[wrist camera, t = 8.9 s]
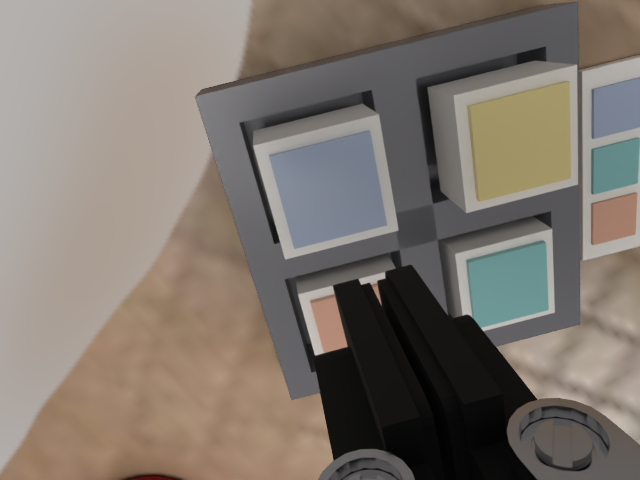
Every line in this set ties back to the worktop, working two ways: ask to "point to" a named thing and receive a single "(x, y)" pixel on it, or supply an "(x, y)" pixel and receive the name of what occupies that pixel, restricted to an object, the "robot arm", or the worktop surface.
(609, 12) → the worktop surface
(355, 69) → the keypad
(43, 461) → the worktop surface
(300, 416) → the worktop surface
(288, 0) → the worktop surface
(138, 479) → the canned food
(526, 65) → the key mustard
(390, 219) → the key slate
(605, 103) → the strip
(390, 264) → the key terracotta
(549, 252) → the key teal
